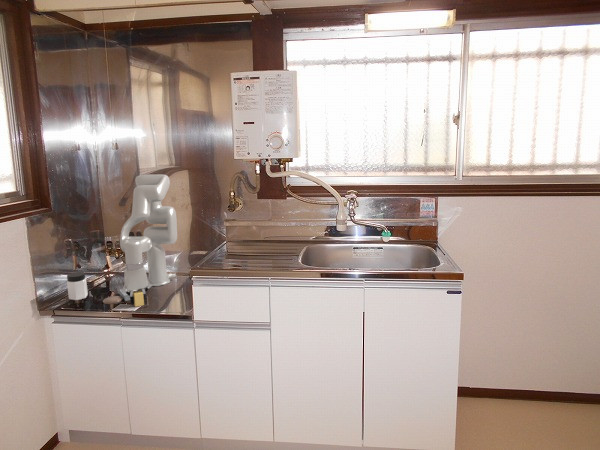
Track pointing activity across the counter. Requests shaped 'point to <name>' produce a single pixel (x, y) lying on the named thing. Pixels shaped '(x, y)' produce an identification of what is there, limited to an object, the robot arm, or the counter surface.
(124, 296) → the gray flat block
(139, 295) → the stub
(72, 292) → the jar
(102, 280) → the counter surface
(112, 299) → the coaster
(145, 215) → the robot arm
